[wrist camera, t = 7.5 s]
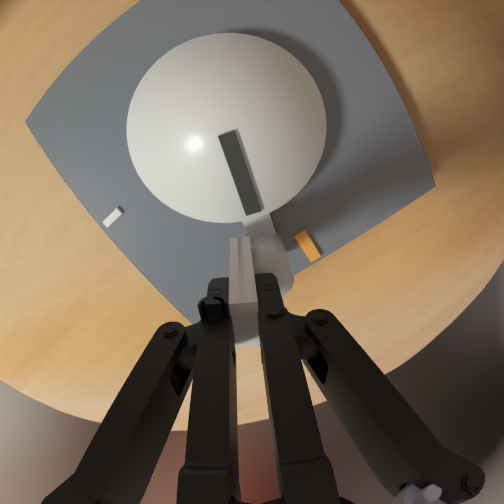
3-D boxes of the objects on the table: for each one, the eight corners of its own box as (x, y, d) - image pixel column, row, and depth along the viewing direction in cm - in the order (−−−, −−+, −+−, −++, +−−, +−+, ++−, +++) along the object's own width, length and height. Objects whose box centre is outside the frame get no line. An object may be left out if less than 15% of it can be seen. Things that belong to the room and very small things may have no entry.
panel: (38, 119, 16) (22, 121, 14) (271, -52, 10) (274, -66, 8) (199, 314, 25) (197, 330, 23) (422, 179, 20) (437, 186, 18)
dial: (113, 83, 14) (73, 77, 9) (287, 21, 12) (303, -9, 8) (196, 281, 21) (186, 325, 17) (347, 236, 20) (374, 271, 15)
